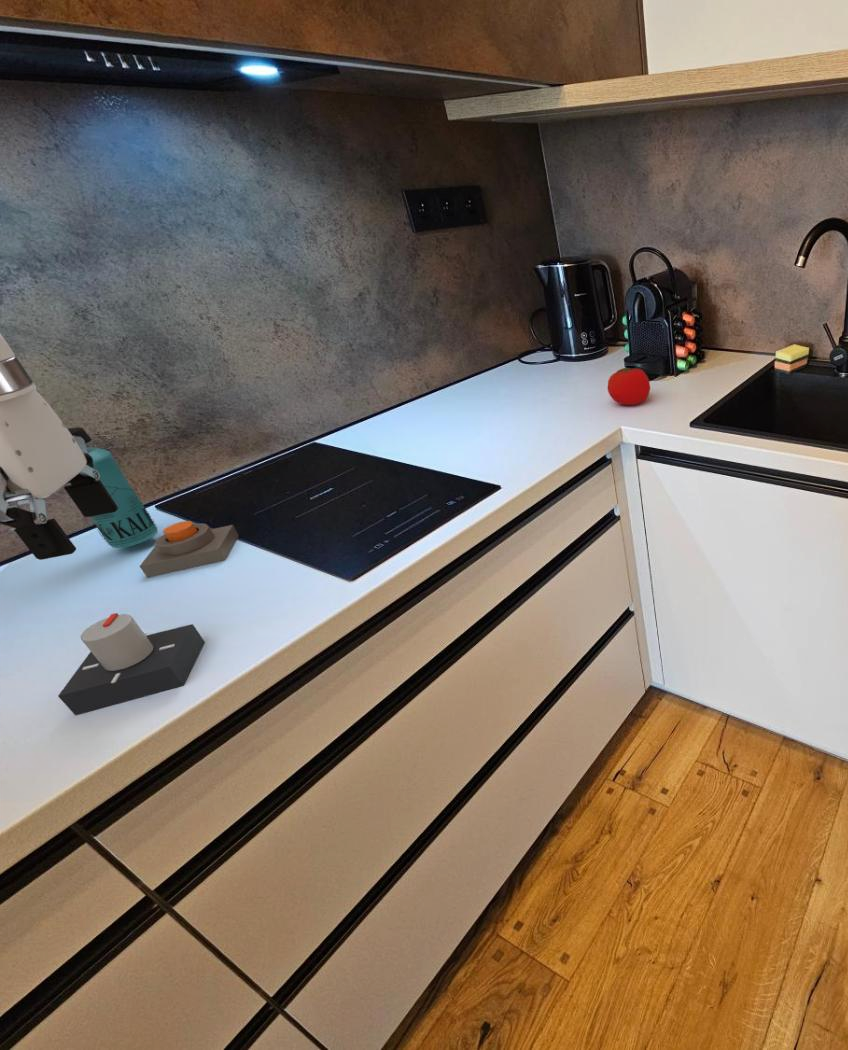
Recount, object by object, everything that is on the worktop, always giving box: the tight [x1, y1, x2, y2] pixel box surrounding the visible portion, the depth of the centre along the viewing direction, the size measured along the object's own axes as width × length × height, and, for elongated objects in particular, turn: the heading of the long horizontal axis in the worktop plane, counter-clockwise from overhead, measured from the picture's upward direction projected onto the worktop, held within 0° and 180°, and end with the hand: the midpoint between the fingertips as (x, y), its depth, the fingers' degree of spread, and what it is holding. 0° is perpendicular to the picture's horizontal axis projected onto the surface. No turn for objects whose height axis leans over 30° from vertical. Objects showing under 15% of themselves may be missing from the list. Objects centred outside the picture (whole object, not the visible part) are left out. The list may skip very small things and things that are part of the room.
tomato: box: [606, 367, 651, 406], centre depth 137 cm, size 9×10×8 cm
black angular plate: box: [57, 623, 206, 716], centre depth 67 cm, size 10×9×3 cm
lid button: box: [162, 520, 198, 542], centre depth 89 cm, size 4×4×2 cm
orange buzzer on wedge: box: [139, 523, 240, 579], centre depth 90 cm, size 10×8×4 cm
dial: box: [80, 612, 153, 671], centre depth 65 cm, size 4×4×5 cm
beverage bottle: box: [67, 426, 158, 549], centre depth 90 cm, size 6×7×20 cm
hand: (81, 533), depth 65 cm, fingers open, 9 cm apart
